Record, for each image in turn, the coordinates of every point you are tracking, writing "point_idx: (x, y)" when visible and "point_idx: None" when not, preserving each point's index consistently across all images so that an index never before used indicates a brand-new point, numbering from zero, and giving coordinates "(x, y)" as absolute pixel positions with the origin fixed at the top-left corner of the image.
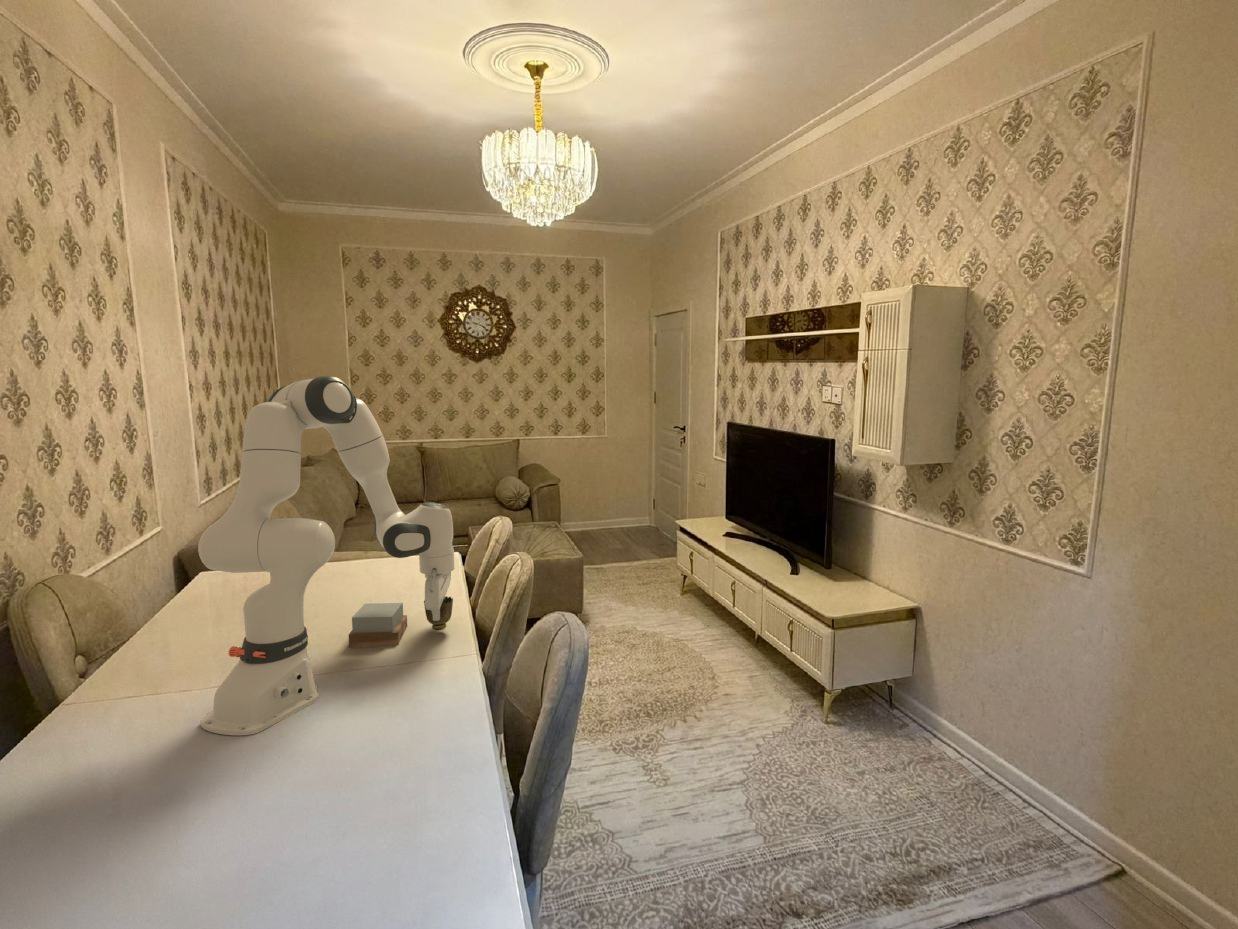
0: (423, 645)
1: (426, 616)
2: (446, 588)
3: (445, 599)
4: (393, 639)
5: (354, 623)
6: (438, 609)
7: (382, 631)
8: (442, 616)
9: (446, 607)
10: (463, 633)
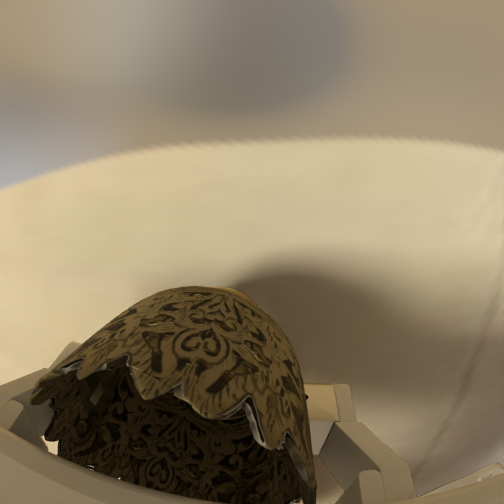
0: (343, 359)
1: (232, 440)
2: (13, 495)
3: (52, 391)
4: None
5: None
6: (402, 466)
7: None
8: (301, 375)
9: (289, 410)
10: (235, 160)
